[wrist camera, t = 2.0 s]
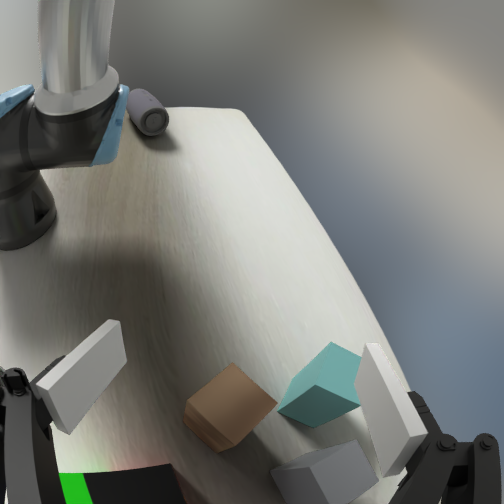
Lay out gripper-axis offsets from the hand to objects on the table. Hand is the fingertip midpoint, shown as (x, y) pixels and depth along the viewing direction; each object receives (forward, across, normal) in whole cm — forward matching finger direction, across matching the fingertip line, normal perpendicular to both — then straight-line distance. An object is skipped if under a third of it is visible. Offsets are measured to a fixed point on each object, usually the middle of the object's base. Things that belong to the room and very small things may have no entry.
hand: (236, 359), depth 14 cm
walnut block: (+9, -3, -16) cm, 18 cm away
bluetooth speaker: (+65, -38, +26) cm, 80 cm away
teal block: (+14, +7, -16) cm, 22 cm away
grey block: (+5, +6, -20) cm, 22 cm away
